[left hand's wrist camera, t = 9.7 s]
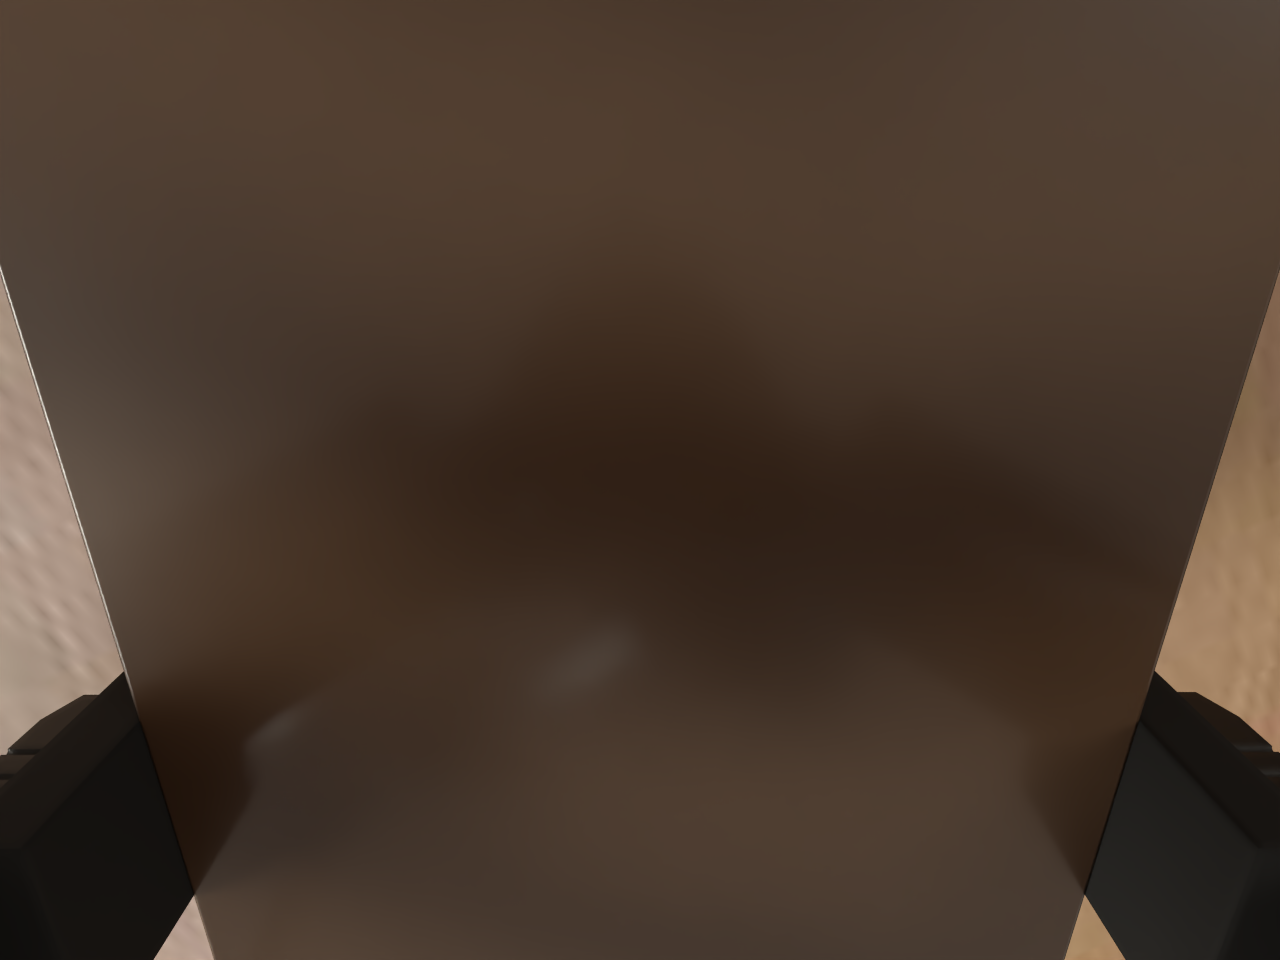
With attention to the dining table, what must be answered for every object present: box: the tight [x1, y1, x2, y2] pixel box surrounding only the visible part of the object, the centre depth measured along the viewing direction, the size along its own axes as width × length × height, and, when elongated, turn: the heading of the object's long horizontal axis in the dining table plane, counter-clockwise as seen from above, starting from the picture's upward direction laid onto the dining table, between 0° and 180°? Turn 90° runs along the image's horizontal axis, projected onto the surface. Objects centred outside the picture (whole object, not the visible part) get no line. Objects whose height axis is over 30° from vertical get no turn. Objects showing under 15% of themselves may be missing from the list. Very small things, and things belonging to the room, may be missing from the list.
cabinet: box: [0, 0, 1280, 960], centre depth 12 cm, size 16×11×10 cm
